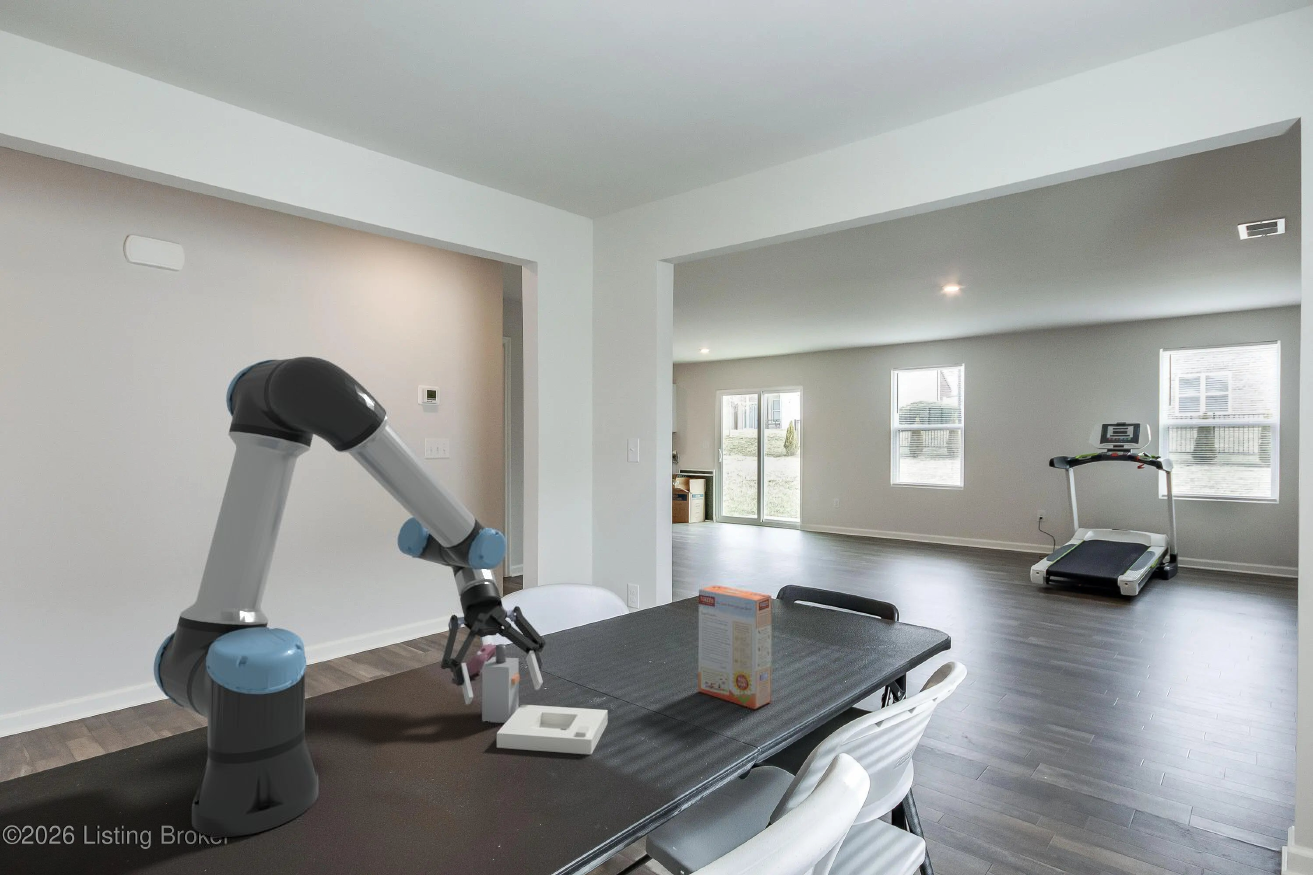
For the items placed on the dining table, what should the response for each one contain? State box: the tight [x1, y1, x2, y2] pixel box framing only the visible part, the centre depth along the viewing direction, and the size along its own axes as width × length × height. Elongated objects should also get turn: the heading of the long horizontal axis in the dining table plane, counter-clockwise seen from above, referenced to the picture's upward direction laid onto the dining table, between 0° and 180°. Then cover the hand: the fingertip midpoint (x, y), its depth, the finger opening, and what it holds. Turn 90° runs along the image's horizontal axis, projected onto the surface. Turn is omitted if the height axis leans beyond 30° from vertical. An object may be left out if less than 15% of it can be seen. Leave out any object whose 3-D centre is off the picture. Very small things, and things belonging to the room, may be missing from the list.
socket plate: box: [496, 704, 609, 755], centre depth 117 cm, size 16×12×3 cm
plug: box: [481, 643, 521, 724], centre depth 125 cm, size 6×5×13 cm
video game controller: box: [466, 642, 497, 677], centre depth 149 cm, size 10×5×7 cm, turn 169°
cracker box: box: [697, 584, 772, 710], centre depth 135 cm, size 14×6×21 cm, turn 47°
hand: (505, 693), depth 123 cm, fingers open, 12 cm apart
